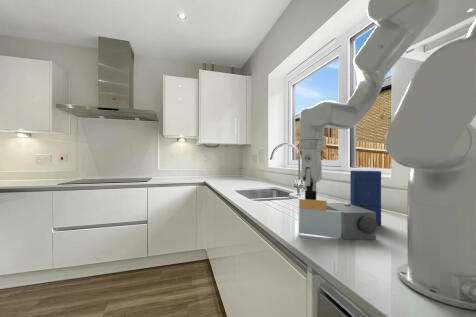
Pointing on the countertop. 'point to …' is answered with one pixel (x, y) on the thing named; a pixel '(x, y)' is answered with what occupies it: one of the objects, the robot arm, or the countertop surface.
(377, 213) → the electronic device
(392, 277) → the countertop surface
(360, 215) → the camera case
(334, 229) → the side door
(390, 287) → the countertop surface
